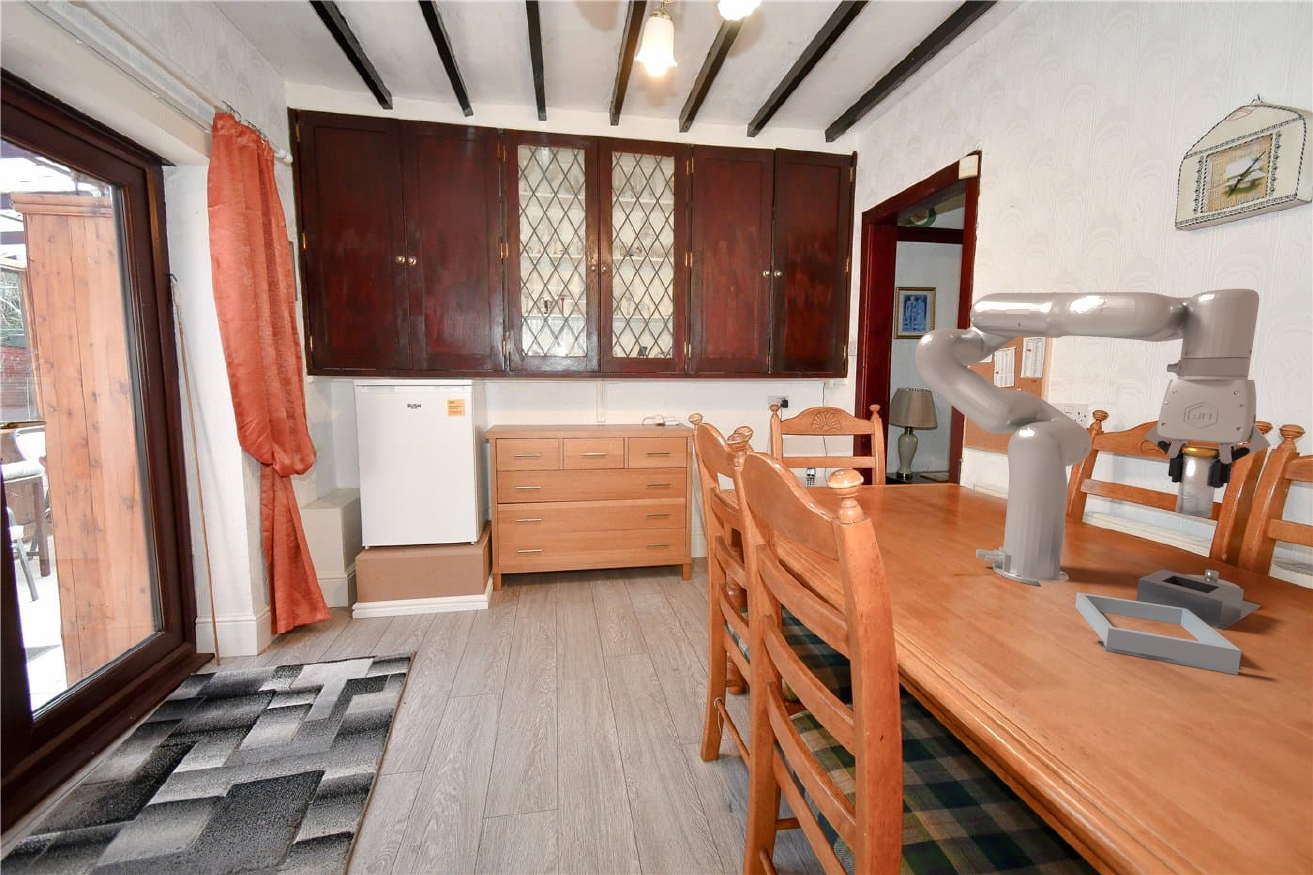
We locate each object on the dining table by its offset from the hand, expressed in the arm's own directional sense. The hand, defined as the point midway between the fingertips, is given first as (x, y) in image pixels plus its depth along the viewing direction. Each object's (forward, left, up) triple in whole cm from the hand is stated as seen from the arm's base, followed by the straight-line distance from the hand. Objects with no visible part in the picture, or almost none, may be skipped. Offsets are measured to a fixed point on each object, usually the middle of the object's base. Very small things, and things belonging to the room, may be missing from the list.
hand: (1197, 483), depth 82 cm
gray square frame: (-8, -11, -23) cm, 27 cm away
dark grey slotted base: (+5, +6, -23) cm, 24 cm away
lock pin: (0, 0, -5) cm, 5 cm away
